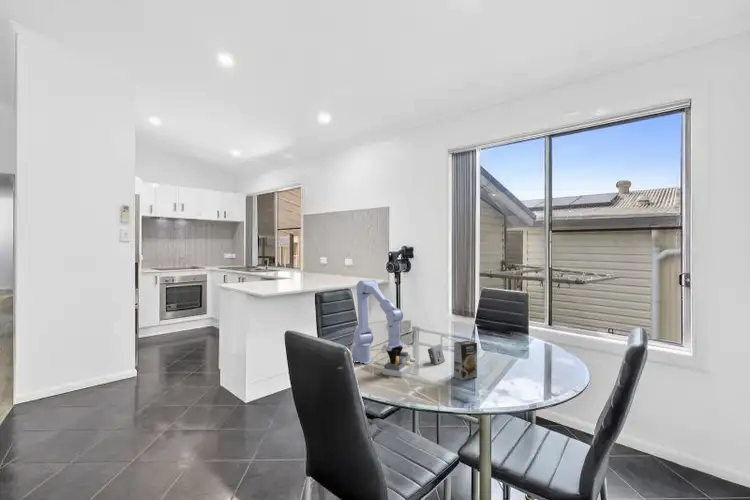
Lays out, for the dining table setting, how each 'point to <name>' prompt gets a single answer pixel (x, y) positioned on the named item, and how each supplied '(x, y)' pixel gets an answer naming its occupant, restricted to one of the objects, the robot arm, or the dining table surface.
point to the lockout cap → (396, 361)
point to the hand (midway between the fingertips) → (394, 362)
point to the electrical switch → (436, 354)
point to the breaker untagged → (404, 354)
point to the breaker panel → (400, 367)
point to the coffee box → (465, 359)
